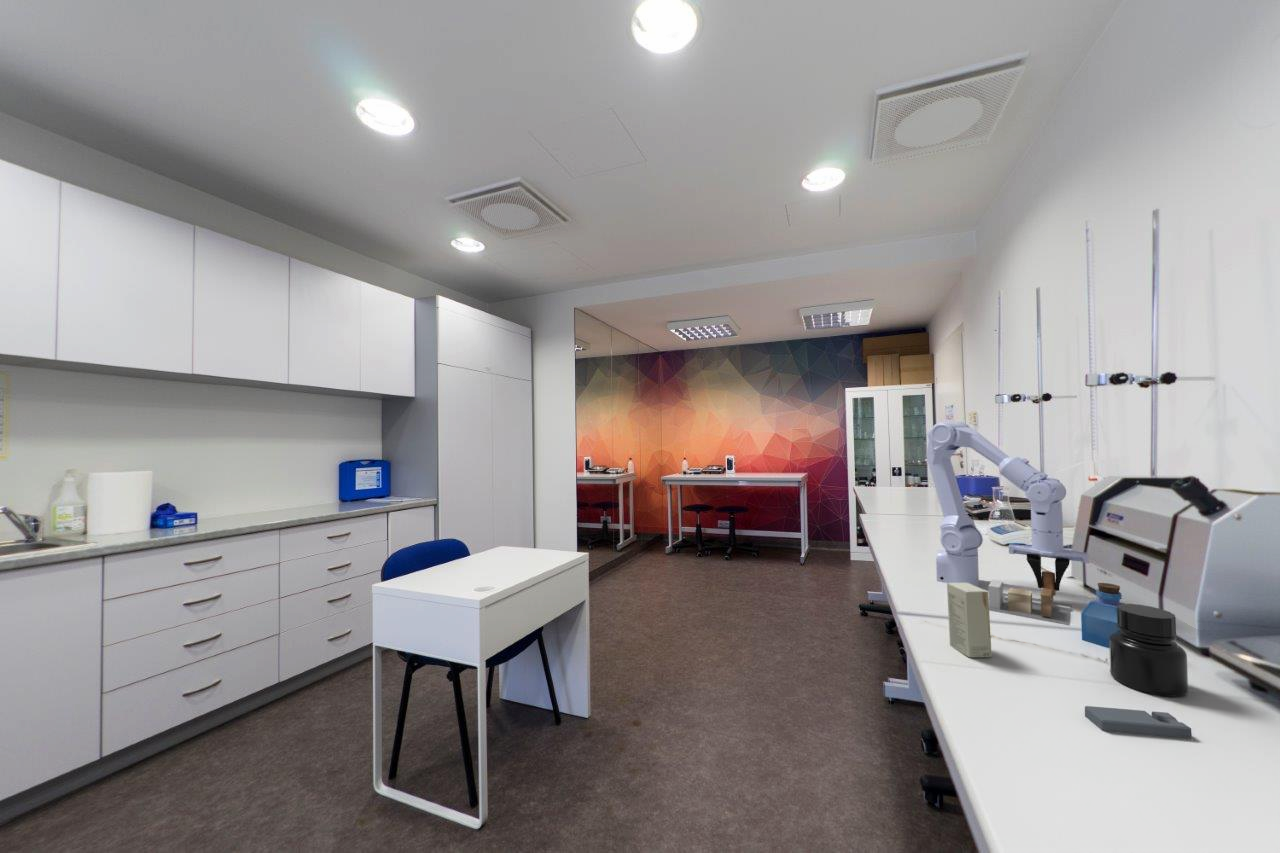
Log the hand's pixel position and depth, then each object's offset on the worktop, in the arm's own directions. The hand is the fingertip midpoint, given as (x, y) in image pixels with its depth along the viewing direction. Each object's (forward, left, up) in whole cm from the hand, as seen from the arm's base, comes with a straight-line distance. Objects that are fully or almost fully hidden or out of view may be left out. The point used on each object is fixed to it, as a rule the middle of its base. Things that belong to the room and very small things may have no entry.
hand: (1048, 588), depth 115 cm
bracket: (+12, -51, -5) cm, 53 cm away
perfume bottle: (+10, -20, -5) cm, 23 cm away
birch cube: (-5, -9, -3) cm, 11 cm away
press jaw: (0, -5, -3) cm, 6 cm away
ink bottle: (+14, -34, -5) cm, 37 cm away
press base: (-3, -6, -4) cm, 8 cm away
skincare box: (-10, -38, -5) cm, 40 cm away
